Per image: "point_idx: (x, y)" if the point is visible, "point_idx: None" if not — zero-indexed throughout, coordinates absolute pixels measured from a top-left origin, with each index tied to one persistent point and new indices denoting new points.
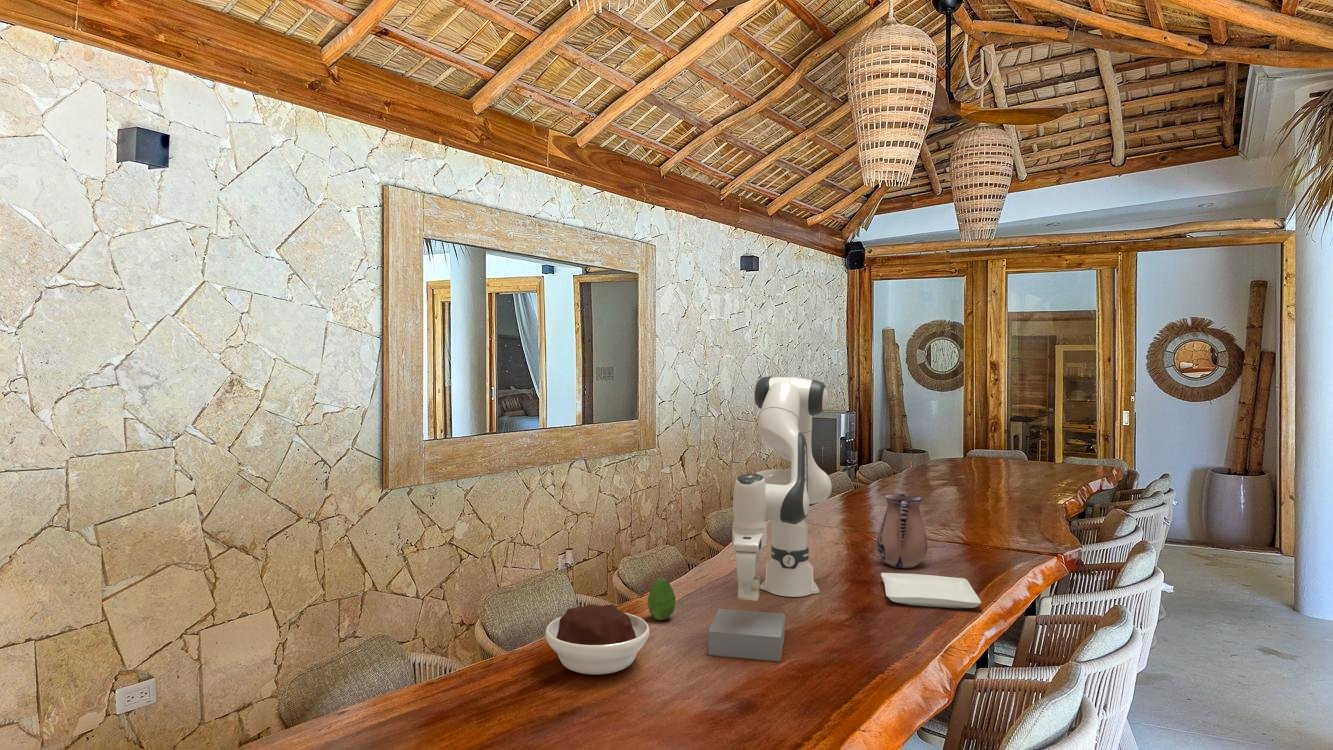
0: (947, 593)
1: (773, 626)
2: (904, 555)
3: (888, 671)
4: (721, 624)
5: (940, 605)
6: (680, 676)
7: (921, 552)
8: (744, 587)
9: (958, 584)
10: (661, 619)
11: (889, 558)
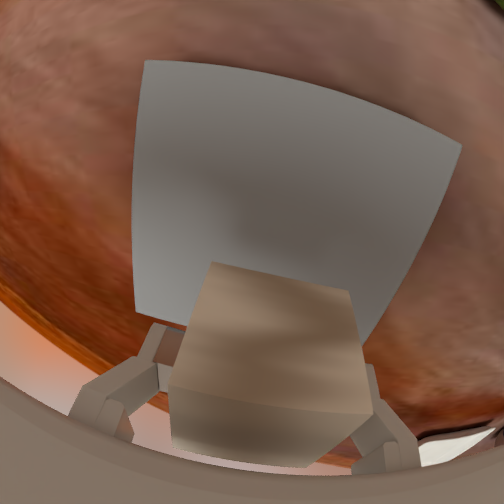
0: (423, 458)
1: None
2: (502, 443)
3: (165, 397)
4: (241, 117)
5: None
6: (48, 28)
7: None
8: (132, 361)
9: (434, 462)
10: None
11: None
